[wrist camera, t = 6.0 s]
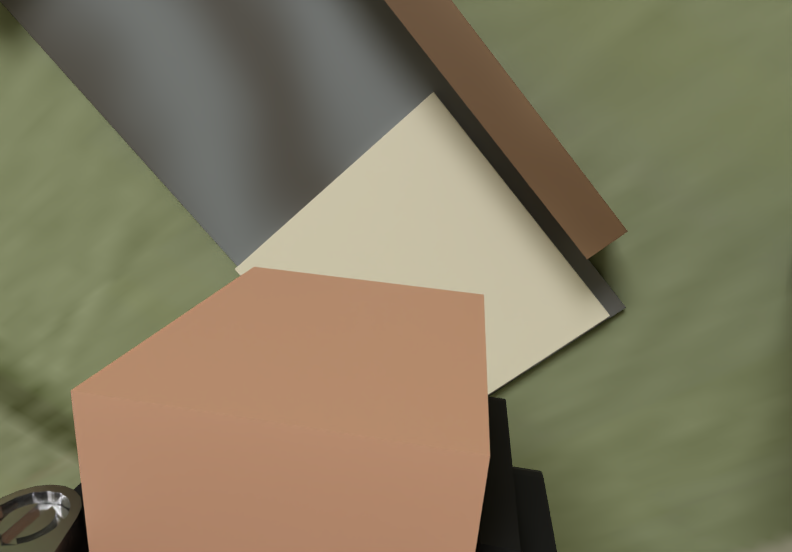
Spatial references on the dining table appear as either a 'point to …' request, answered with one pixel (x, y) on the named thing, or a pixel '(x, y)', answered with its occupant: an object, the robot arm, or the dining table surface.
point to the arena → (306, 106)
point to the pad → (441, 239)
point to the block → (293, 423)
